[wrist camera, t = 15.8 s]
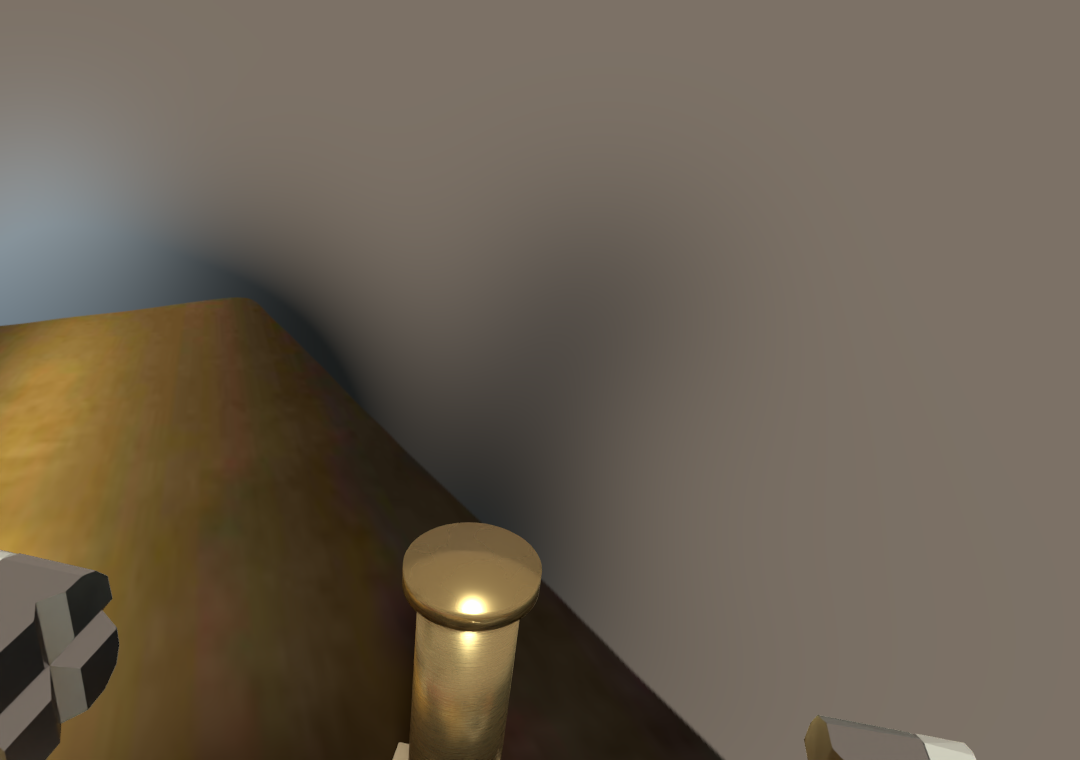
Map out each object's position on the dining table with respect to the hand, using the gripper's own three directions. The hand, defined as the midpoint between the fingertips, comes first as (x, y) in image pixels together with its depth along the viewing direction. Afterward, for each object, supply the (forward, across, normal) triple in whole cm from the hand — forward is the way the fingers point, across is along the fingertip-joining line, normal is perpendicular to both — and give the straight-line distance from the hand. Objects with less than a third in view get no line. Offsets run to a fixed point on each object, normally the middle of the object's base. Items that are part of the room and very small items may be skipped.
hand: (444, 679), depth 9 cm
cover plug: (+20, -3, -32) cm, 38 cm away
